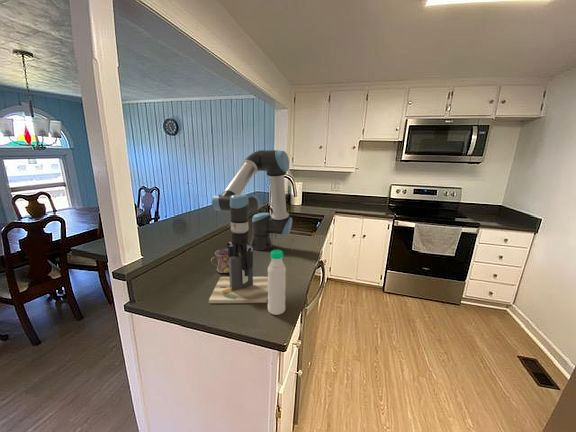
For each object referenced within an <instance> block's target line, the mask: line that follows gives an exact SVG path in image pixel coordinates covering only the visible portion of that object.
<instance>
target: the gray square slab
mask: <svg viewBox="0 0 576 432" xmlns="http://www.w3.org/2000/svg"><path fill="white" fill-rule="evenodd" d="M253 268H254V266H253V267H252V268H251V269H249V275H248V281H247V282H246V283H243V276H242V270H243V269H244V267H243V262H242V257H241V255H240V254H239V255H237V256H232V257H229V272H228V273H229V274H228V275H229V277H230V288H228V289H225V290H222V292H226V291H229V290H232V291H234V290H238V289H241V288H244V287H248V286H251V285H253V277H254V275H253V273H254V271H253V270H254V269H253Z"/></svg>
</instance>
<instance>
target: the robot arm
mask: <svg viewBox="0 0 576 432" xmlns="http://www.w3.org/2000/svg"><path fill="white" fill-rule="evenodd" d="M289 169H290V159H289V156H288V154H287V152H286V151H284V150H278V149H276V150H275V149H274V150H273V149H272V150H270V149H269V150H268V149H267V150H263V149H259V150H257V151H255V152H254V151H253V152H252V153H250V155H248V156H247V157H245V159H244V160H243V161H242V163H241V167H240V168H239V170H238V171H237V172H236V174H235V175H234V177H233V178H232V179H231V181H230V182H229V184H228V185H227V186H226V187H225V189H224V191H223V192H222V193H221V194H215V195H213V197H212V199H211V206H212V208H213V210H215V211H219V212H230V213H229V214H230V216H229V217H230V240H231V241H229V242H227V243H226V246H227V249H228V261H229V257H232V256H237V255H241V257H242V262H243V267H244V269H243V270H242V276H243V283H246V282H247V281H248V275H249V269H251V268H252V267H253V268H254V266H253V265H254V251H268V250H270V249H272V248H273V241H272V237H271V234H274V235H276V234H277V235H282V236H283V235H287V236H288V235H289V234H290V232H291V229H292V226H293V218H292V217H290V213H289V212H287V203H286V189H285V186H286V185H285V176H286V175H287V172H289ZM261 171H263V172H266V176H267V177H269V185H270V197H271V205H272V206H271V207H272V208H271V209H272V213H271V214H270V212H259V213H255V212H257V211H258V210H260V208H261V205H262V203H261V200H260V198H259V197H258V196H256V195H249V196H248V195H247V194H242V193H243V192H244V190H245V188H246V187H247V185H248V183H249V182H250V180H251V179H252V177H253V176H254V175H256V174H257V173H258V172H261ZM252 213H255V214H254V215H253V216H252V219H251V220H252V221H251V222H252V225H251V226H252V237H251V241H250V242H249V238H250V237H249V236H250V234H249V230H250V229H249V225H250V224H249V215H250V214H252ZM249 243H250V244H249Z"/></svg>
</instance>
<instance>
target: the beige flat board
mask: <svg viewBox="0 0 576 432" xmlns="http://www.w3.org/2000/svg"><path fill="white" fill-rule="evenodd" d="M228 288H230V276H219V279H218V281H217V283H216V285H215V286H214V289H213V290H212V293H211V295H210V297H209V298H208V304H268V276H253V285H251V286H248V287H244V288H241V289H238V290H234V291H232V290H229V291H226V292H222V290H225V289H228Z"/></svg>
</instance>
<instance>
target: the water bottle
mask: <svg viewBox="0 0 576 432" xmlns="http://www.w3.org/2000/svg"><path fill="white" fill-rule="evenodd" d="M283 258H284V252H283V251H282V250H281V249H273V250H271V251H270V259H271V260H270V262H269V265H268V266H267V277H268V298H267V311H268V312H269V314H272V315H275V316H278V315H282V314H283V313H284V312H285V311H286V290H287V289H286V286H287V282H286V281H287V277H286V272H287V269H286V268H287V267H286V265H285V263H284V261H283Z"/></svg>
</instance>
